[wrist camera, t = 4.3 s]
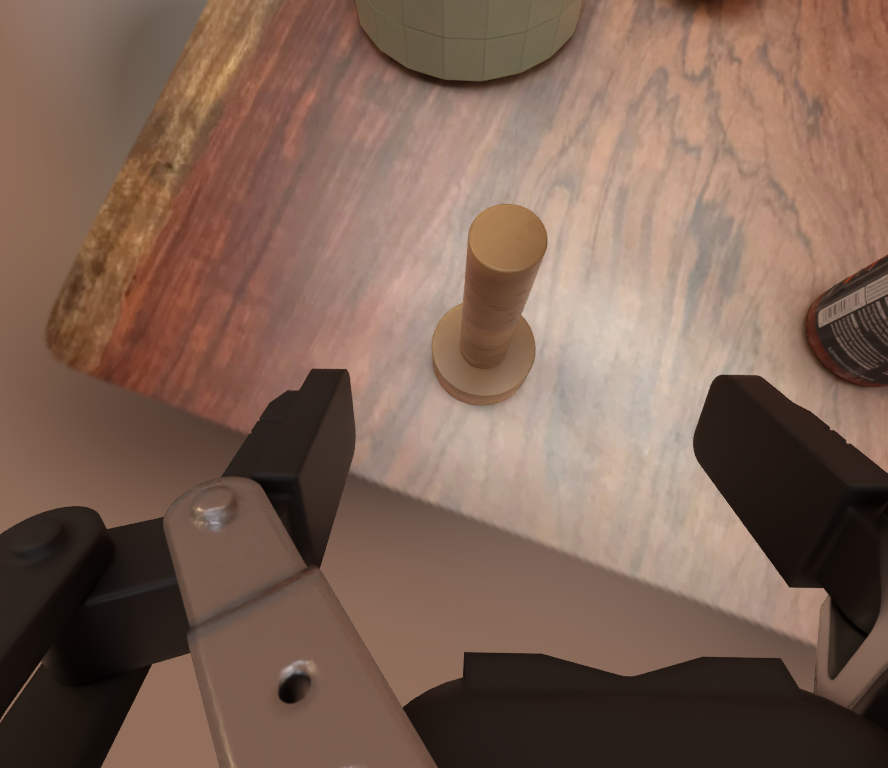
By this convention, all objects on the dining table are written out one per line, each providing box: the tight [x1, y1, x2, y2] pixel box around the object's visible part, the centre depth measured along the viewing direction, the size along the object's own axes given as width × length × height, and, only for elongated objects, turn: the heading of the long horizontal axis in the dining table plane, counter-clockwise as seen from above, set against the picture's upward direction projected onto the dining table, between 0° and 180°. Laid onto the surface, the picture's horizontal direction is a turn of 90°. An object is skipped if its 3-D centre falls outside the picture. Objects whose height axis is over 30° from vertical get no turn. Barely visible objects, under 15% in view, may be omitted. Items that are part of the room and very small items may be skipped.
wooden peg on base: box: [432, 204, 547, 405], centre depth 19 cm, size 5×5×12 cm
